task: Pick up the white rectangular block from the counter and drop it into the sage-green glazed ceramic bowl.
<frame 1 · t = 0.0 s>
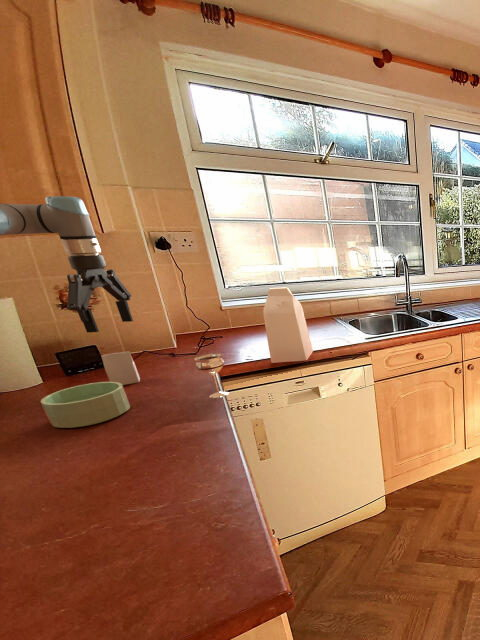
hand: (111, 326, 130), 19 cm above the counter, tool pointing down, fingers open, 13 cm apart
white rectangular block: (126, 383, 137), on the counter
bowl: (93, 416, 114), on the counter
wineglass: (219, 395, 127), on the counter
milk: (293, 357, 161), on the counter
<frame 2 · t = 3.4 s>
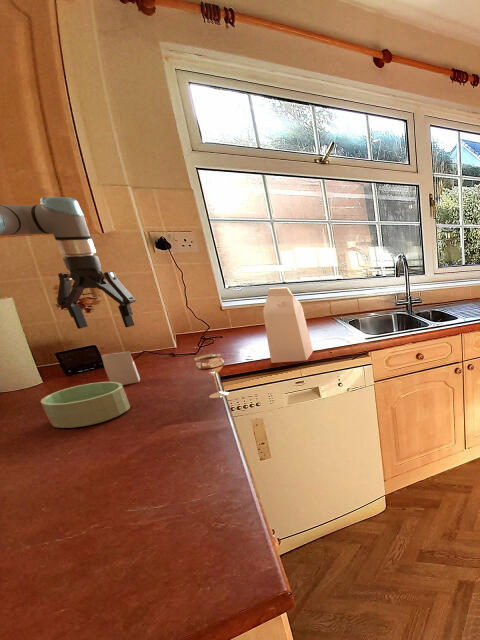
hand: (106, 327, 130), 19 cm above the counter, tool pointing down, fingers open, 13 cm apart
nothing on the counter moved.
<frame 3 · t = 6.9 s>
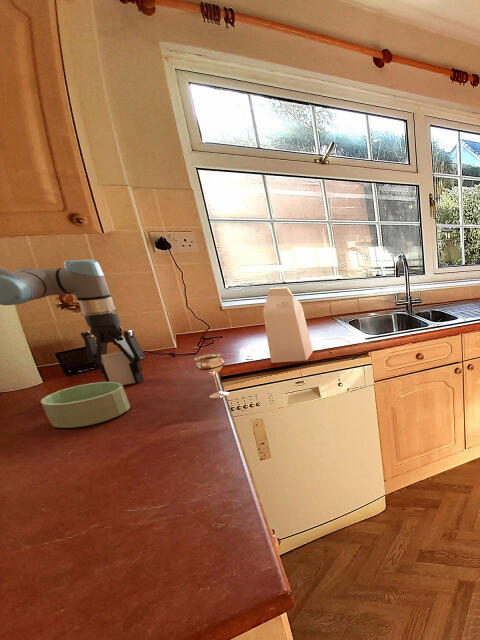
hand: (126, 381, 137), 0 cm above the counter, tool pointing down, fingers closed on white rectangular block, 8 cm apart
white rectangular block: (126, 383, 137), on the counter, touching gripper
everything else where it was.
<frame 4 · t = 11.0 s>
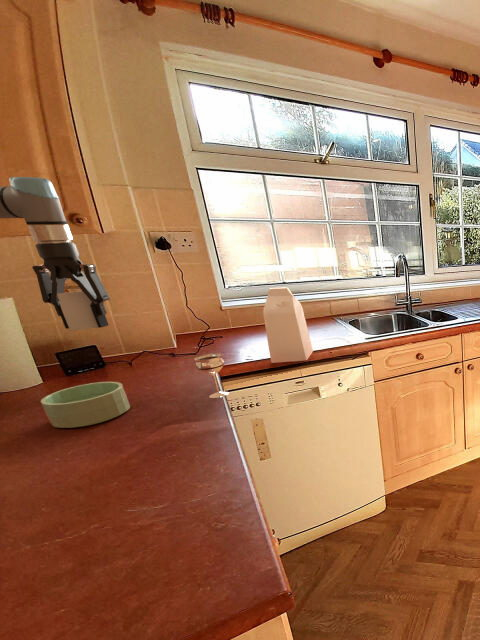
hand: (87, 326, 120), 21 cm above the counter, tool pointing down, fingers closed on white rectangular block, 8 cm apart
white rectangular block: (88, 328, 120), point 21 cm above the counter, touching gripper
everything else where it was.
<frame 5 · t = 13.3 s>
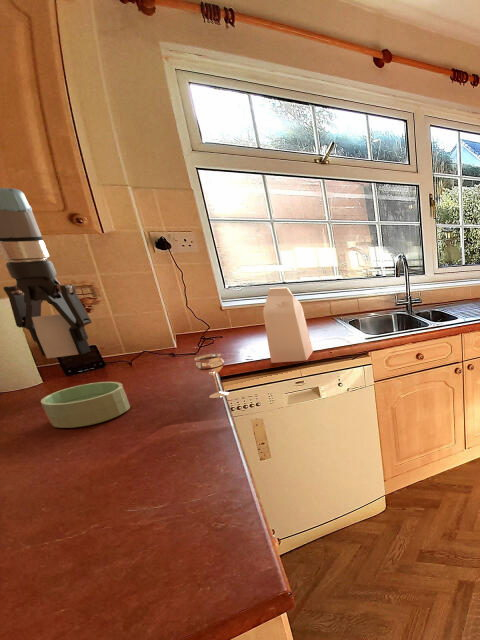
hand: (67, 353, 107), 18 cm above the counter, tool pointing down, fingers closed on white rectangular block, 8 cm apart
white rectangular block: (67, 354, 107), point 17 cm above the counter, touching gripper
everything else where it was.
when the fingers open (13 cm above the counter, at t = 15.2 s): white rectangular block drops 12 cm, resting on bowl.
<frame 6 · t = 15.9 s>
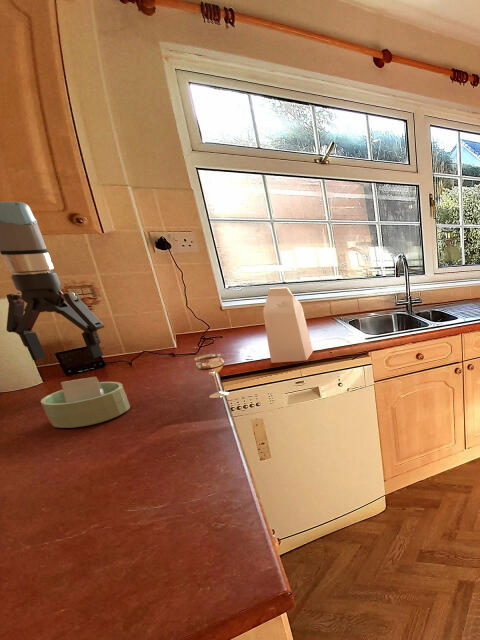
hand: (68, 357, 108), 17 cm above the counter, tool pointing down, fingers open, 13 cm apart
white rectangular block: (93, 414, 114), resting on bowl
everything else where it was.
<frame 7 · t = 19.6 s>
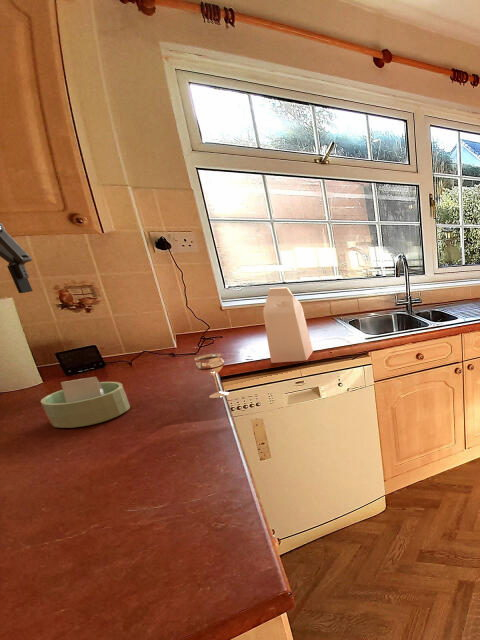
nothing on the counter moved.
at the end: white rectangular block inside the target area in the bowl (0.1 cm from its centre), point 0.4 cm above the bowl's base; the gripper is holding nothing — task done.
